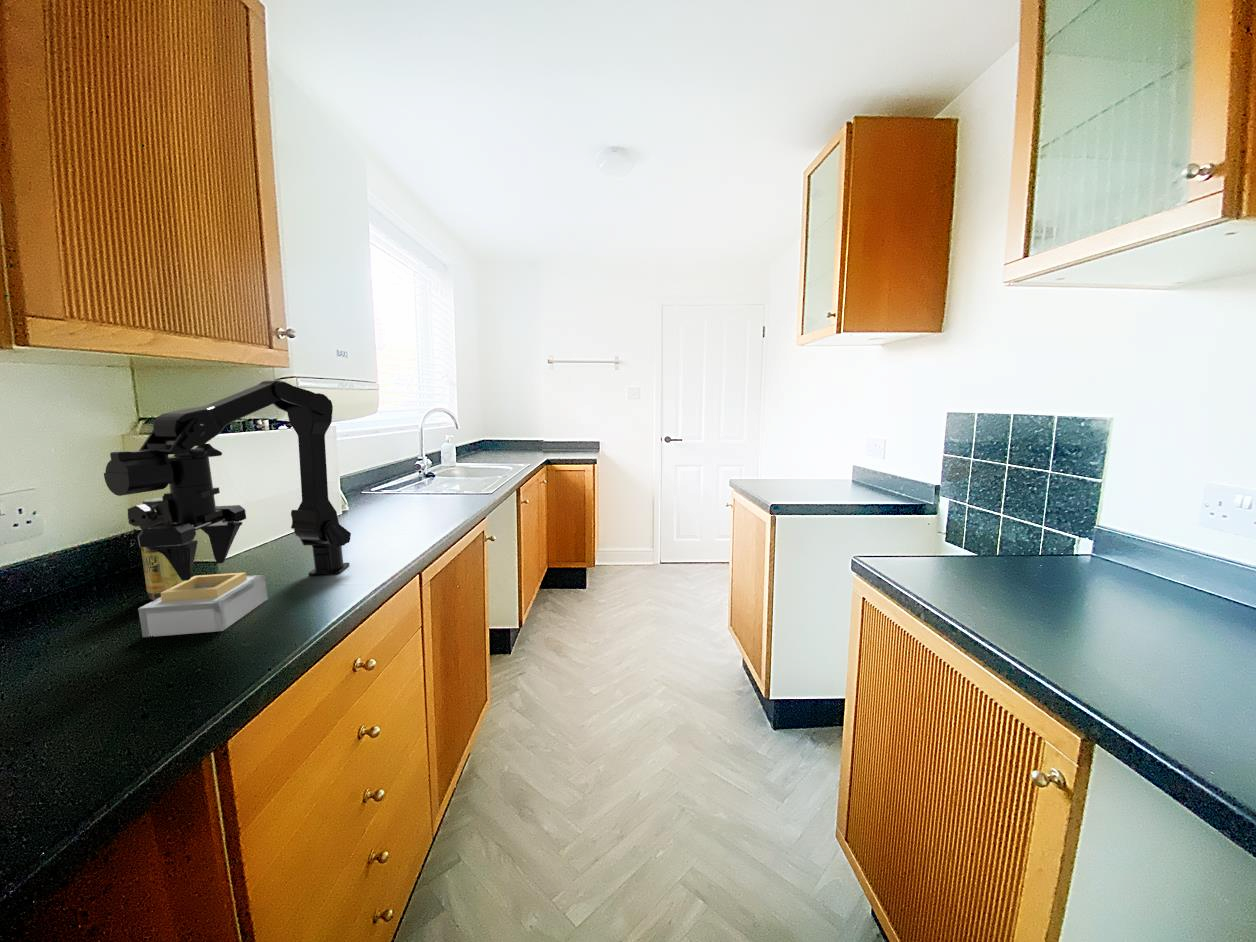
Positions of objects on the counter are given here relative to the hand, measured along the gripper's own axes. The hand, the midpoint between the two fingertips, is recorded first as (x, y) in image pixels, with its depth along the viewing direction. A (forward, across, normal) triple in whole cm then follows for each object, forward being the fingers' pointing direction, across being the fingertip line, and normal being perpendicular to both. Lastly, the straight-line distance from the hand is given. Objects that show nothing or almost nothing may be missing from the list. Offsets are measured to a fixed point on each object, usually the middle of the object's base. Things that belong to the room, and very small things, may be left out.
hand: (204, 571), depth 91 cm
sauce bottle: (+9, -13, -15) cm, 22 cm away
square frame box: (+8, 0, 0) cm, 8 cm away
